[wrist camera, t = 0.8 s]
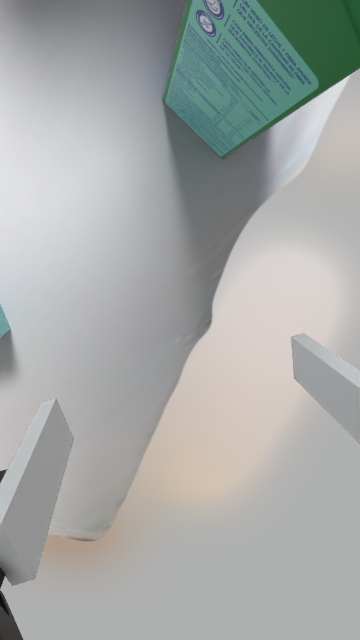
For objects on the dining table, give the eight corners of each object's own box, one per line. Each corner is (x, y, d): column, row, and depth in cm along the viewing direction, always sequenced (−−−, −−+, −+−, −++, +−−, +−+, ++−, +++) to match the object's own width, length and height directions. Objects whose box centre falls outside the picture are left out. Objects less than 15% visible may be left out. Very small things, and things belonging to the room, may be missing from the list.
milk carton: (222, 159, 34) (420, 30, 10) (161, 100, 31) (245, -263, 7) (273, 89, 32) (643, -253, 9) (213, 19, 29) (528, -770, 6)
